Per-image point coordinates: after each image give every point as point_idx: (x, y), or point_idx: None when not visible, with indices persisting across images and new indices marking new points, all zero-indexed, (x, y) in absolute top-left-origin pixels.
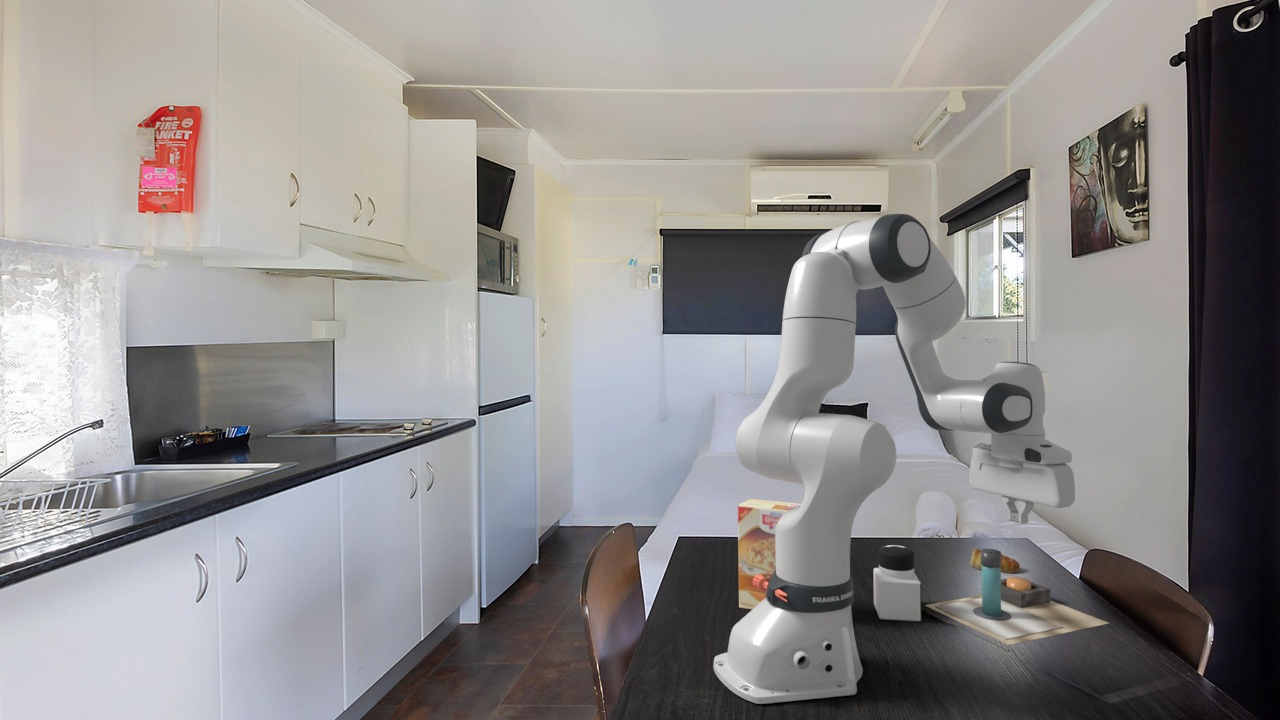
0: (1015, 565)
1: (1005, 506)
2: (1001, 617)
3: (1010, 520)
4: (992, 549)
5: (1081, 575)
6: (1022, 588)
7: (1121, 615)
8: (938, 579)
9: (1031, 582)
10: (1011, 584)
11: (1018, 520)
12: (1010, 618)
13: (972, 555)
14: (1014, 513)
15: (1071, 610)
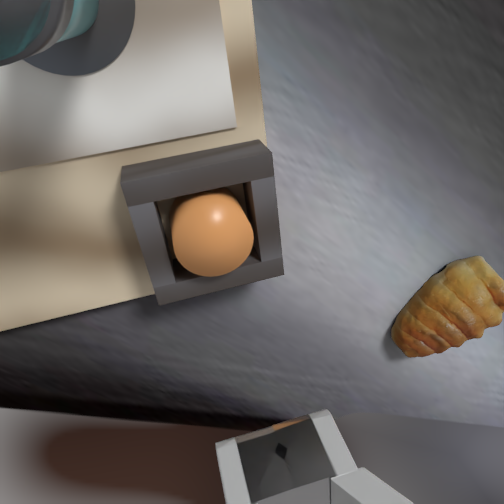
0: (402, 342)
1: (397, 497)
2: None
3: (309, 414)
4: (29, 37)
5: None
6: (173, 224)
7: (85, 392)
8: (457, 92)
9: (226, 287)
10: (202, 203)
11: (240, 449)
12: None
13: (496, 275)
14: (290, 484)
15: (87, 297)
